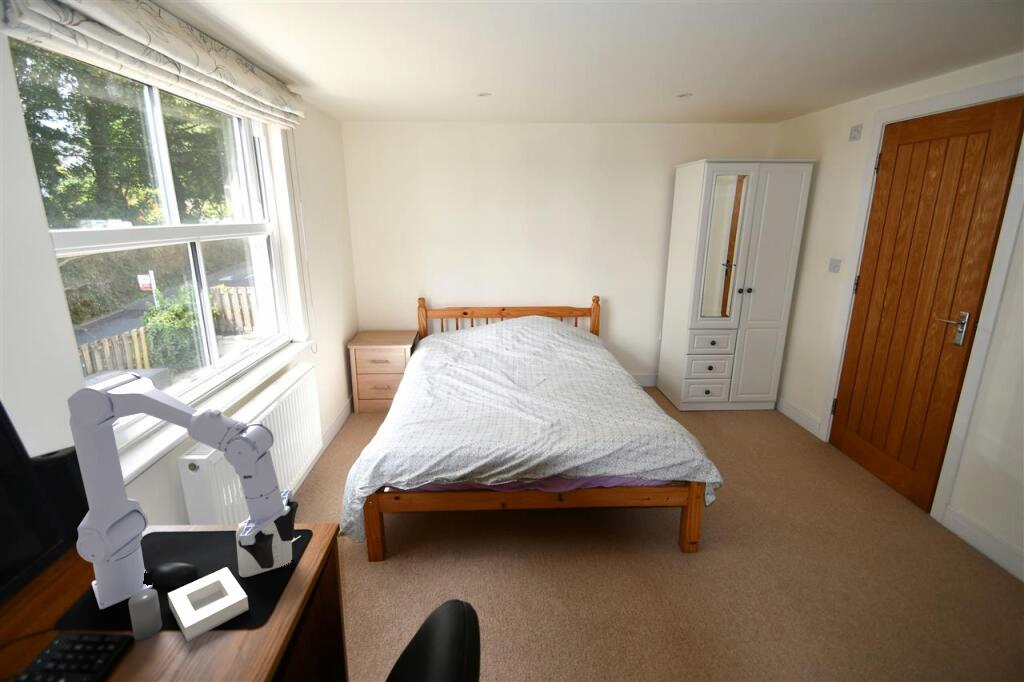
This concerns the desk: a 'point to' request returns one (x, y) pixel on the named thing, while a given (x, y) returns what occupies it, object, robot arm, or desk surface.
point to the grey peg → (145, 614)
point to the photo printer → (279, 549)
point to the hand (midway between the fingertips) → (278, 553)
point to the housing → (207, 603)
